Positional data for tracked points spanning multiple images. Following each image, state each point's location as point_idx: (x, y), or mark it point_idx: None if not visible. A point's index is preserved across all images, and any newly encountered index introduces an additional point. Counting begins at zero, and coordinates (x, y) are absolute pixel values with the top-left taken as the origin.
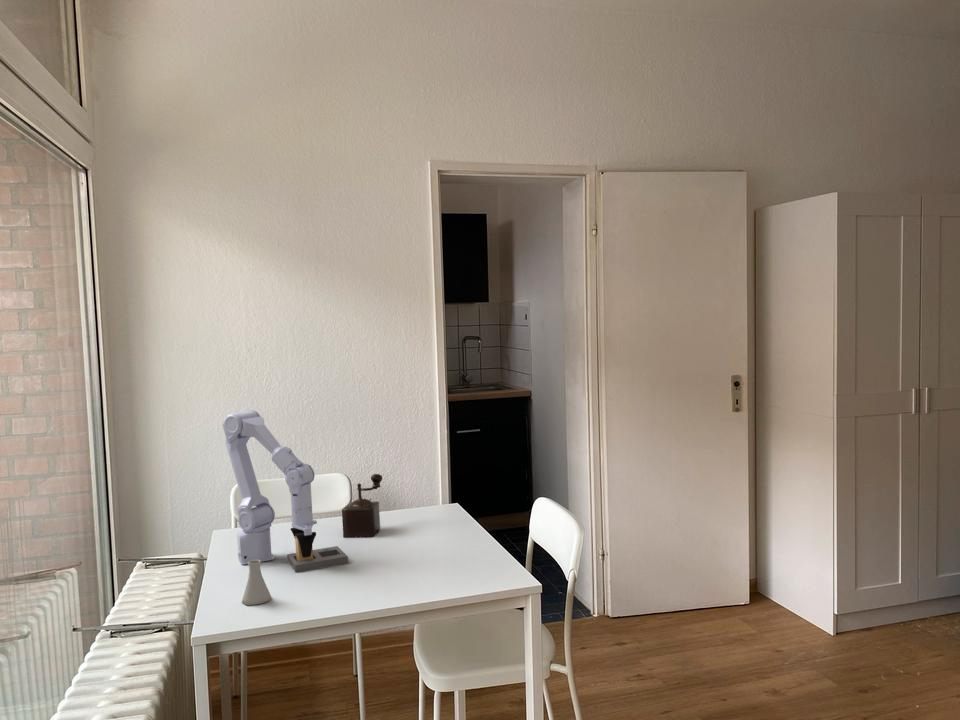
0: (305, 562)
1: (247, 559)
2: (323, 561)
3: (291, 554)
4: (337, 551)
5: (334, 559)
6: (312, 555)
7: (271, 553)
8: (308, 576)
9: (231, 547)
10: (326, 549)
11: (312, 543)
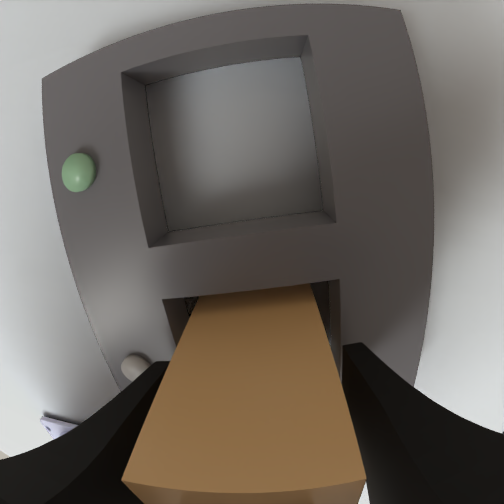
0: (398, 357)
1: None
2: (428, 221)
3: None
4: (166, 60)
5: (422, 122)
6: (321, 320)
7: (61, 425)
8: (488, 312)
9: (13, 449)
10: (93, 163)
11: (446, 410)
